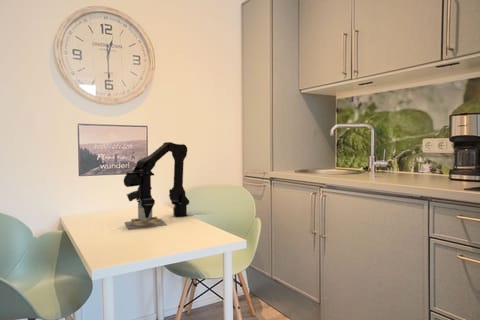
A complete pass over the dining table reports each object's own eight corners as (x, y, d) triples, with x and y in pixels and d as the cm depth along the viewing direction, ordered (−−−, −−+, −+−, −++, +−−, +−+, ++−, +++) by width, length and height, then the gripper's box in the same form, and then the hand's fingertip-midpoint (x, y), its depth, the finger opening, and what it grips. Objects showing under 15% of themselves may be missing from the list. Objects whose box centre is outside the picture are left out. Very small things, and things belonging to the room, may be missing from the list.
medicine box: (144, 217, 167) (143, 200, 167) (152, 217, 166) (152, 200, 166) (137, 220, 159) (137, 203, 159) (146, 221, 159) (146, 203, 158)
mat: (160, 219, 174) (160, 218, 174) (167, 226, 159) (167, 224, 159) (124, 223, 166) (124, 221, 166) (128, 229, 152) (128, 228, 152)
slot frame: (156, 220, 169) (156, 216, 169) (159, 223, 162) (159, 219, 162) (131, 222, 164) (131, 218, 164) (133, 226, 156) (133, 222, 156)
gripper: (125, 184, 167) (126, 214, 168) (130, 187, 150) (130, 221, 151) (148, 183, 172) (148, 212, 172) (154, 186, 155) (155, 219, 156)
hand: (145, 216), depth 163 cm, fingers closed on medicine box, 9 cm apart
